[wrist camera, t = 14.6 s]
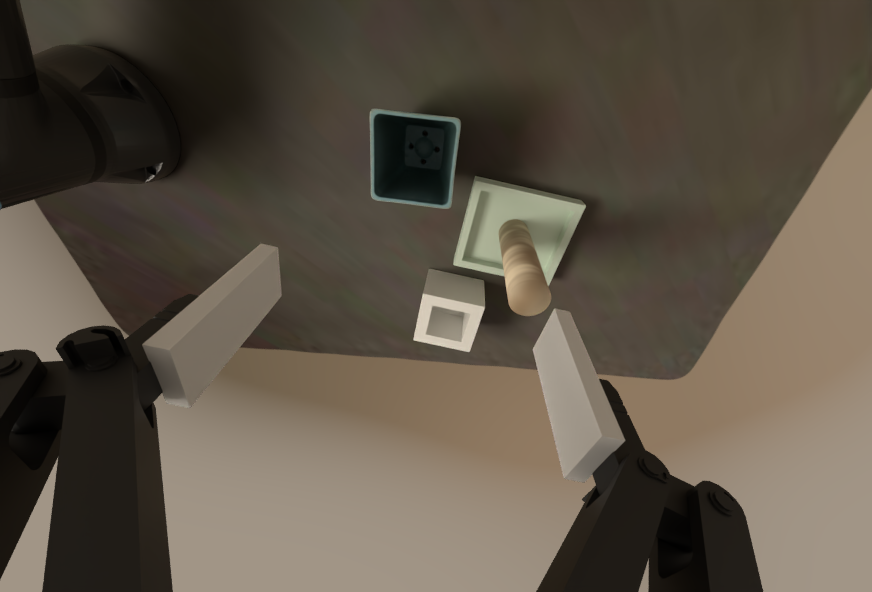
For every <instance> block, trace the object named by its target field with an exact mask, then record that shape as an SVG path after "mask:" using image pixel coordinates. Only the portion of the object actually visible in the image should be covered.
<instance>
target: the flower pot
mask: <svg viewBox="0 0 872 592" xmlns="http://www.w3.org/2000/svg"><path fill="white" fill-rule="evenodd" d="M424 131H427V133H428V134H427V135H426V136H425V135H424V134H423V133H424ZM460 131H461V121H460V120H459V119H458V118H455V117H447V116H437V115H429V114H420V113H411V112H402V111H393V110H385V109H372V110H371V111H370V151H371V157H370V158H371V196H372V198H373V199H375V200H378V201H386V202H396V203H404V204H413V205H420V206H427V207H435V208H442V209H448V208H450V207H451V204H452V195H453V185H454V176H455V167H456V159H457V151H458V144H459V137H460ZM410 144H413V146H414V147H413V149H411V148H410ZM436 147H438V148H439V151H438V152H437V151H436V150H435V148H436ZM423 159H424V160H425V161H426V162H425V164H422V162H421V161H422V160H423Z"/></svg>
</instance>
